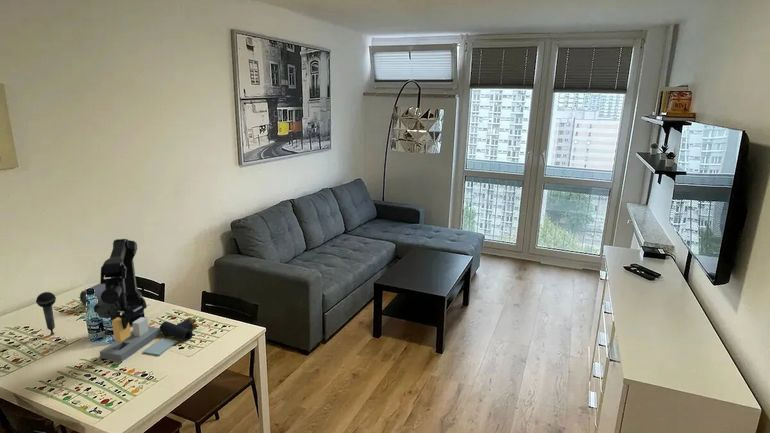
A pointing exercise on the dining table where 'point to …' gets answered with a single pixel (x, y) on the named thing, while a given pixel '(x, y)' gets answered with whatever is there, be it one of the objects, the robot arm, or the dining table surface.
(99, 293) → the bluetooth speaker
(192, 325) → the pipe connector
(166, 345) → the slate mat
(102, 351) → the header
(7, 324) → the dining table surface
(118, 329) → the tan rectangular block
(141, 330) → the grey plug
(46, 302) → the microphone
